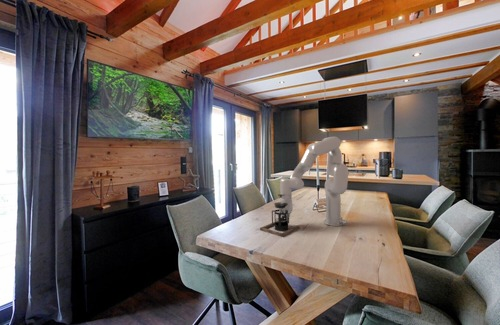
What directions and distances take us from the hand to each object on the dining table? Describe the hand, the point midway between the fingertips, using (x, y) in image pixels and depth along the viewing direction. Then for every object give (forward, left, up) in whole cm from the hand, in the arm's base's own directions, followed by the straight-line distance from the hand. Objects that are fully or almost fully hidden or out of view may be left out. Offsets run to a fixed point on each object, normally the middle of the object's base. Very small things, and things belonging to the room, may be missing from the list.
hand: (286, 222), depth 148 cm
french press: (0, +7, -2) cm, 7 cm away
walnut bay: (0, +7, -2) cm, 7 cm away
